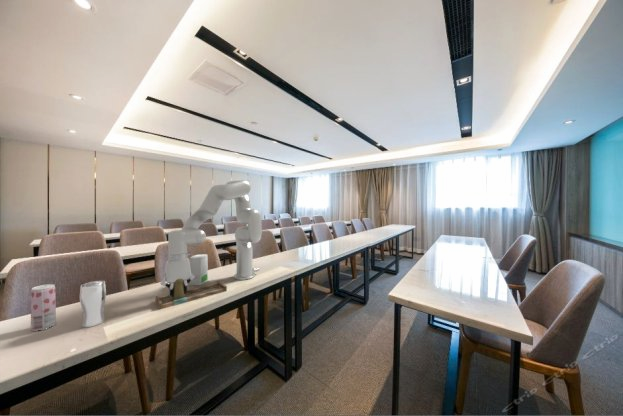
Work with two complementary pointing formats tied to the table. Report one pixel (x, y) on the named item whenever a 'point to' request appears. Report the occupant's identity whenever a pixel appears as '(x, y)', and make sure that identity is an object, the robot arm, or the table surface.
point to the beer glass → (92, 302)
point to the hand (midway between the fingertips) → (178, 294)
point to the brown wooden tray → (183, 300)
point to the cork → (178, 290)
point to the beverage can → (43, 307)
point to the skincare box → (199, 269)
